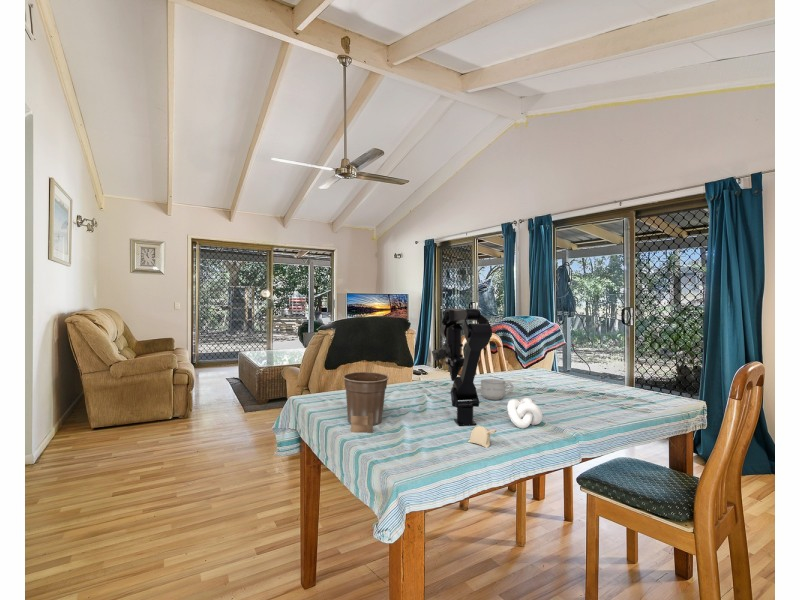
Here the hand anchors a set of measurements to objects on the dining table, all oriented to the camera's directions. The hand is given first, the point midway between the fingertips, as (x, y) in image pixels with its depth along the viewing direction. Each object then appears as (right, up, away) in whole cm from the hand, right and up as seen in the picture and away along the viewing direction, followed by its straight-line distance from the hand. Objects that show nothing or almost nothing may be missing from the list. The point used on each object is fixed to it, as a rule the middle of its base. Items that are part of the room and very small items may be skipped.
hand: (453, 380), depth 160 cm
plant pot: (-33, -12, -13) cm, 37 cm away
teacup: (+22, -12, +20) cm, 32 cm away
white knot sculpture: (+23, -13, -14) cm, 30 cm away
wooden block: (-33, -12, -13) cm, 37 cm away
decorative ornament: (+4, -13, -33) cm, 36 cm away
